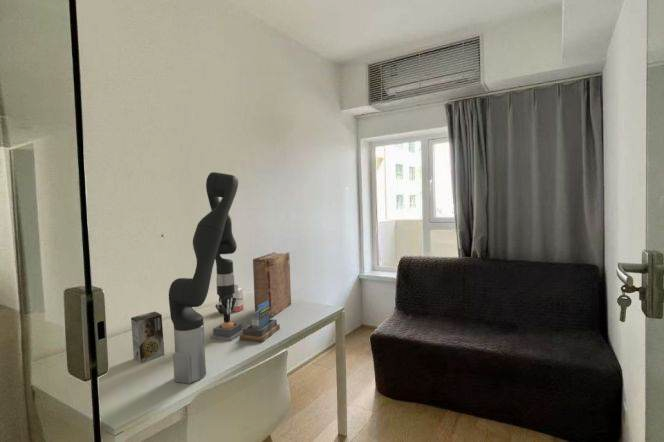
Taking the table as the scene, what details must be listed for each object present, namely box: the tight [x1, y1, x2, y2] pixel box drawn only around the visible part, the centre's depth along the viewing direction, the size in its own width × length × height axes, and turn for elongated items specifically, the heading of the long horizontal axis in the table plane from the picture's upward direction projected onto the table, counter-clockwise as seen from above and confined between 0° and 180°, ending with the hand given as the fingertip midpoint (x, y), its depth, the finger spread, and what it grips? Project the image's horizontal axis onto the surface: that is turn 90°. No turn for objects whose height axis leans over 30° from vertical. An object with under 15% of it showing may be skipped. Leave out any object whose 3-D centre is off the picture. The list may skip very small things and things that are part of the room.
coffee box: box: [130, 311, 165, 364], centre depth 133 cm, size 9×6×16 cm
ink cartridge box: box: [232, 284, 244, 313], centre depth 191 cm, size 9×5×15 cm, turn 73°
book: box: [252, 251, 292, 319], centre depth 188 cm, size 25×9×30 cm, turn 163°
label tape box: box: [251, 301, 270, 330], centre depth 153 cm, size 9×4×12 cm, turn 163°
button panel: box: [209, 322, 243, 341], centre depth 154 cm, size 11×11×4 cm
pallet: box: [239, 318, 281, 343], centre depth 154 cm, size 16×11×4 cm
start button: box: [221, 321, 235, 329], centre depth 154 cm, size 5×5×4 cm
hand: (227, 321), depth 154 cm, fingers closed
